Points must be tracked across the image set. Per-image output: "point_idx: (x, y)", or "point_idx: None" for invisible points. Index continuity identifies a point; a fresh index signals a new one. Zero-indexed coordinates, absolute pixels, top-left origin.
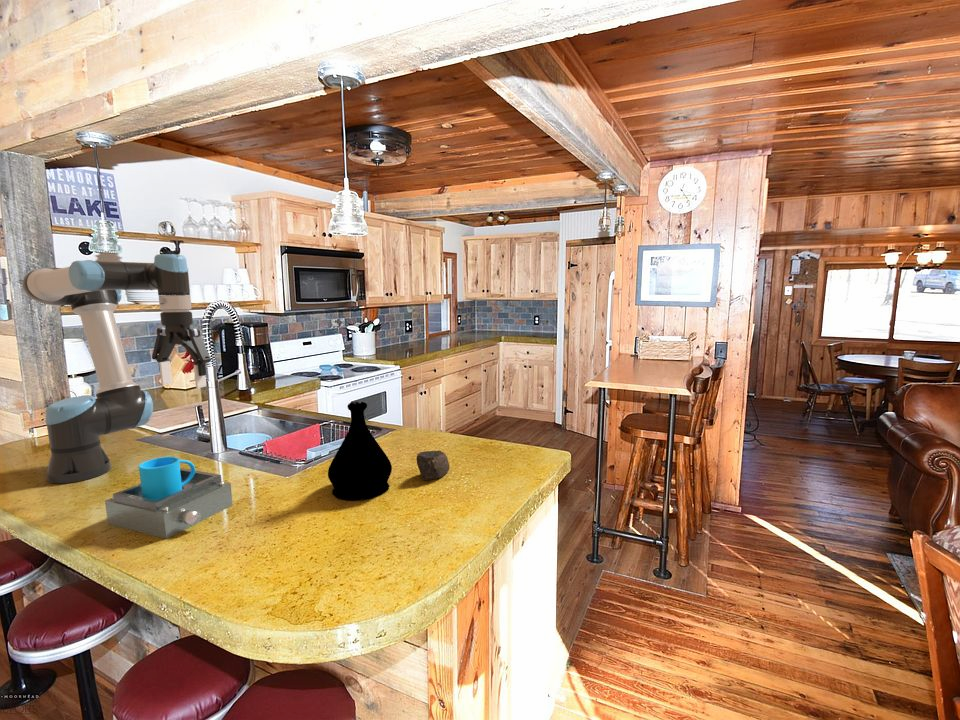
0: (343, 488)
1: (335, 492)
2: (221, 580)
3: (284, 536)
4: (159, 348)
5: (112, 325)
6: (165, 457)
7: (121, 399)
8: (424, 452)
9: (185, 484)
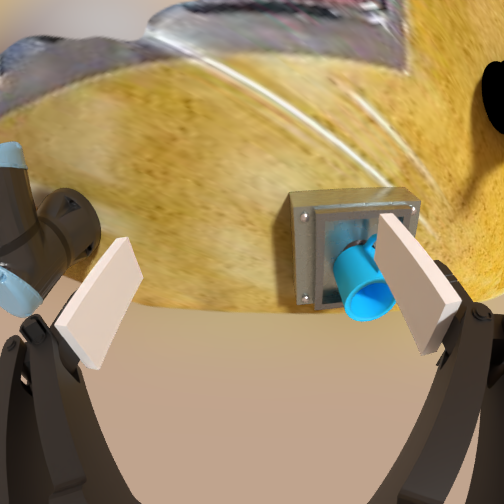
0: None
1: (495, 123)
2: (467, 285)
3: (486, 223)
4: (38, 430)
5: None
6: (362, 285)
7: None
8: None
9: (358, 231)
